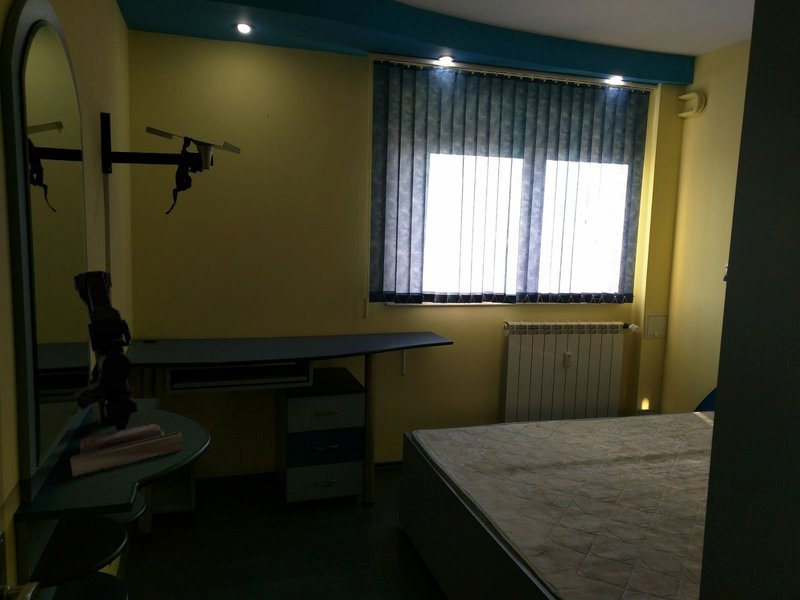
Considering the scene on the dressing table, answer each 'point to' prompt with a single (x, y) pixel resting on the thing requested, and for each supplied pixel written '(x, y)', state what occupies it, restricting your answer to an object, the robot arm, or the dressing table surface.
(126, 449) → the oak rail
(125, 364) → the robot arm
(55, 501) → the dressing table surface
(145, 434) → the packaged product
